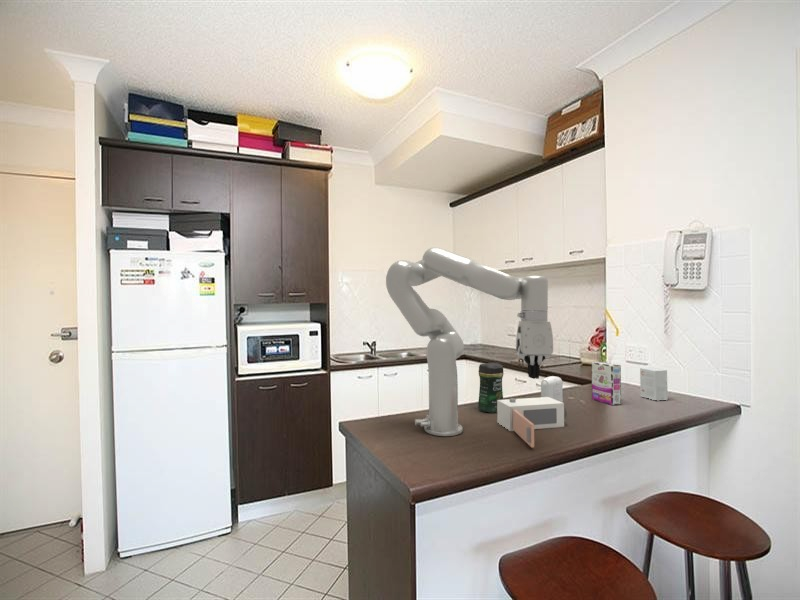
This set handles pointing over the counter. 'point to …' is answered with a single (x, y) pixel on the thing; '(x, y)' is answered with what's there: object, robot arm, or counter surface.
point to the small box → (653, 383)
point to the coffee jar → (490, 386)
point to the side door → (523, 427)
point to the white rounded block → (552, 388)
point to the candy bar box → (606, 383)
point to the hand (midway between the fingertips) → (533, 377)
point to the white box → (532, 412)
